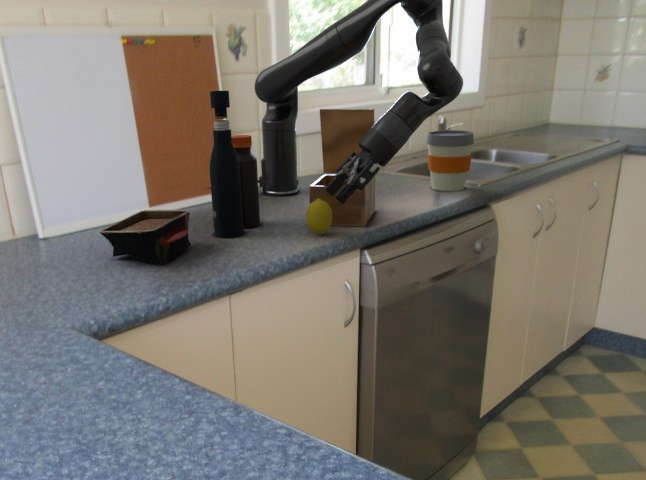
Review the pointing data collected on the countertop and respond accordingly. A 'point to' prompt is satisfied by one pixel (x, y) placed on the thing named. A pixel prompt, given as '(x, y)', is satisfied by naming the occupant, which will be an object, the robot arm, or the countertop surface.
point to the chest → (353, 209)
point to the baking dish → (150, 235)
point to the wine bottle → (224, 173)
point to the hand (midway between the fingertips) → (333, 196)
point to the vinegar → (248, 180)
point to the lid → (342, 134)
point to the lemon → (319, 216)
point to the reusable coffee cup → (449, 158)
